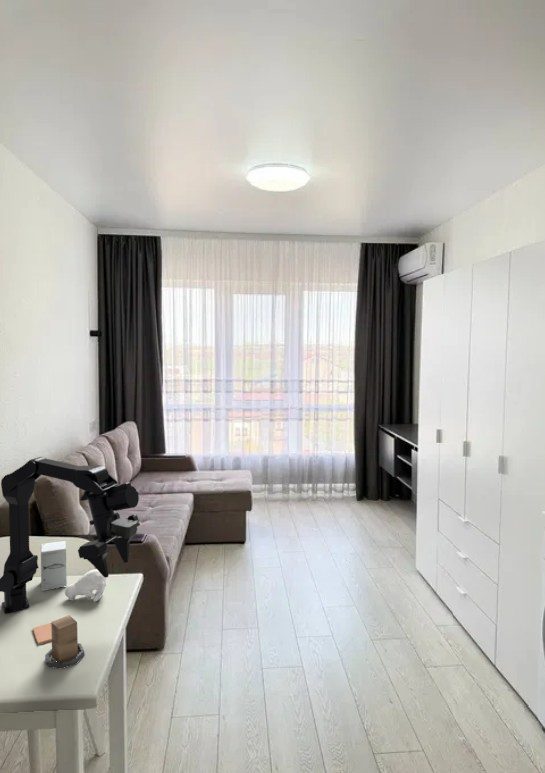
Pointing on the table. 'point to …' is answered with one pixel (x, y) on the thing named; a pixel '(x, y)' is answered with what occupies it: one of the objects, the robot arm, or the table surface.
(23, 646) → the table surface
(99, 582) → the white lumpy piece
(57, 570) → the supplement box
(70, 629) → the walnut block
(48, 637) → the terracotta mat
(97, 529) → the robot arm
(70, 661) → the metal ring
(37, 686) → the table surface
